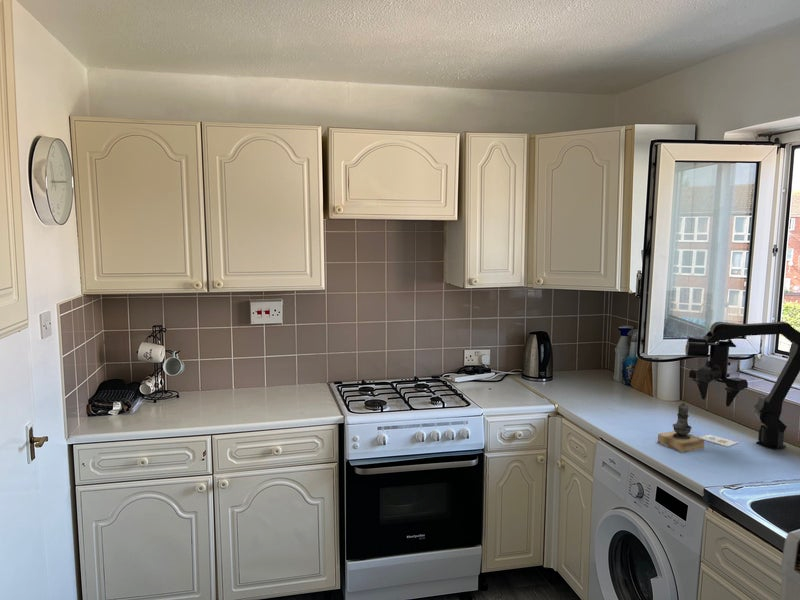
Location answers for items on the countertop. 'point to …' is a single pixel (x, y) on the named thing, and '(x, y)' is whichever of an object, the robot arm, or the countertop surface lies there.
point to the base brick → (681, 442)
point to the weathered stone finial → (682, 423)
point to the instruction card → (718, 440)
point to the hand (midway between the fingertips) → (715, 402)
